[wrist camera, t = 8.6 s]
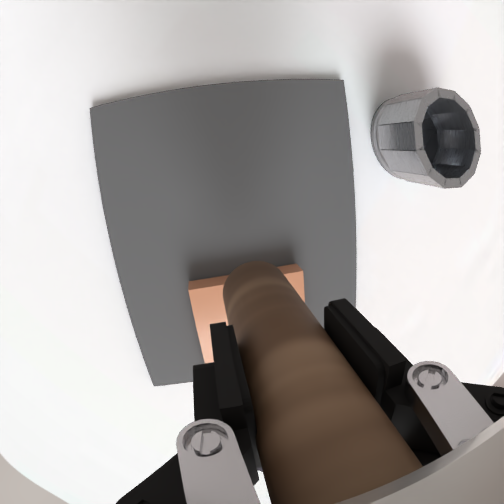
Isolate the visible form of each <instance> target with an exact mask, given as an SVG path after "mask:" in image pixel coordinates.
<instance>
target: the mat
mask: <svg viewBox="0 0 504 504" xmlns="http://www.w3.org/2000/svg"><path fill="white" fill-rule="evenodd" d="M90 115H91V126H92V135H93V144H94V152H95V160H96V167H97V174H98V180H99V186H100V192H101V198H102V204H103V209H104V214H105V219H106V224H107V229H108V234H109V238H110V243H111V247H112V252H113V256H114V260H115V264H116V268H117V272H118V276H119V280H120V283H121V287H122V291H123V294H124V298H125V301H126V305H127V308H128V312H129V315H130V318H131V322H132V325H133V328H134V331H135V334H136V337H137V340H138V343H139V346H140V349H141V352H142V355H143V358H144V361H145V364H146V366H147V369H148V372H149V375H150V377H151V380H152V383H153V385H154V386H161V385H170V384H179V383H186V382H193V365H199V364H205V362H204V358H203V354H202V349H201V345H200V341H199V337H198V332H197V328H196V324H195V319H194V315H193V310H192V305H191V301H190V296H189V291H188V286H189V281H194V280H201V279H207V278H213V277H219V276H225V275H229V274H230V273H231V272H232V271H233V270H234V269H236V268H237V267H238V266H240V265H242V264H244V263H247V262H251V261H264V262H268V263H271V264H273V265H274V266H276V267H279V266H285V265H290V264H297V265H298V266H299V267H300V268H301V269H302V270H303V276H304V295H305V304H306V305H307V307H308V308H309V309H310V311H311V312H312V313H313V315H314V316H315V317H316V319H317V320H318V321H319V323H320V324H321V326H322V327H323V328H324V307H325V306H328V304H329V302H330V301H334V300H338V299H342V298H345V299H347V300H348V301H349V302H350V303H351V304H352V305H353V306H354V307H355V308H356V215H355V193H354V176H353V162H352V149H351V138H350V128H349V119H348V111H347V102H346V95H345V87H344V80H330V79H283V80H259V81H244V82H232V83H222V84H212V85H204V86H196V87H189V88H182V89H176V90H170V91H164V92H158V93H153V94H148V95H143V96H138V97H133V98H128V99H124V100H120V101H115V102H111V103H107V104H103V105H99V106H96V107H92V108H90Z"/></svg>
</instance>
